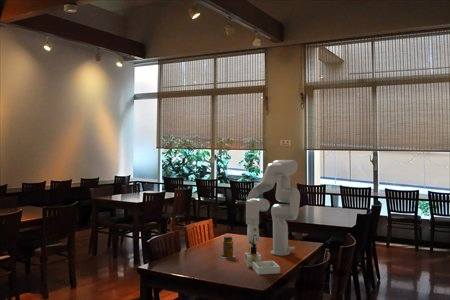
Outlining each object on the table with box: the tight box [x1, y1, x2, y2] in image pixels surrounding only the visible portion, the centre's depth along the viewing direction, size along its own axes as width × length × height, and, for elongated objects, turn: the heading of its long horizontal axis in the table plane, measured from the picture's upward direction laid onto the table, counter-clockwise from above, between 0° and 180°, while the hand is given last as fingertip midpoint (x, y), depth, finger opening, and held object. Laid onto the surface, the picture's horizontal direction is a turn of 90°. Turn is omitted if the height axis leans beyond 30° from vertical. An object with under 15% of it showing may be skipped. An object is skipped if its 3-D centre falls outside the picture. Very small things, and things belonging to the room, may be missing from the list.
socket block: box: [243, 252, 262, 268], centre depth 228 cm, size 8×8×6 cm
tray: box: [252, 260, 281, 276], centre depth 216 cm, size 12×12×4 cm
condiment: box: [218, 236, 236, 259], centre depth 247 cm, size 7×8×12 cm
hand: (252, 252), depth 228 cm, fingers closed on dowel, 3 cm apart
